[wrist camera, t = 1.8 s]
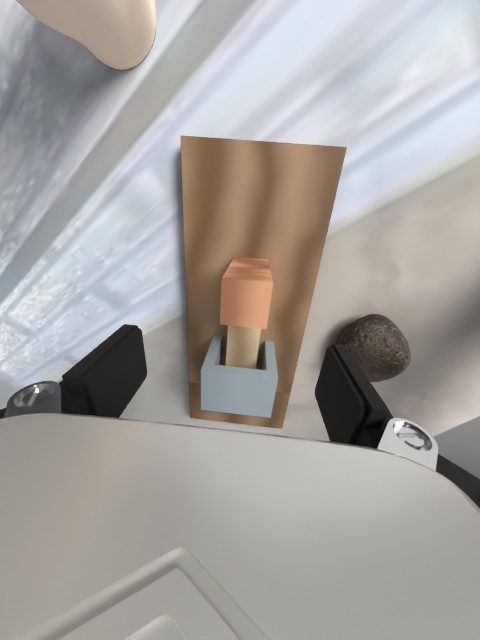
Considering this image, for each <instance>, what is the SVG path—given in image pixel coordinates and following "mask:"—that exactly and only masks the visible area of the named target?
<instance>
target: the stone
mask: <svg viewBox="0 0 480 640" xmlns="http://www.w3.org/2000/svg"><path fill="white" fill-rule="evenodd" d="M336 345H340V346H345V347H346V348H347V349H348V351H349V352H350V353H351V355H352V356H353V358H354V359H355V361H356V362H357V364H358V365H359V367H360V368H361V370H362V371H363V373H364V374H365V375H366V377H367V378H368V380H369V381H370V382H379V381H384V380H387V379H390V378H392V377H394V376H396V375H398V374H400V373H402V372H403V371H404V370H405V368H406V367H407V366H408V365H409V362H410V350H409V346H408V344H407V341H406V339H405V337H404V336H403V334H402V333H401V331H400V330H399V329H398V328H397V326H396V325H395V324H394V323H393V322H392V321H391V320H389V319H388V318H387V317H385V316H382V315H378V314H371V315H367V316H365V317H363V318H361V319H358V320H357V321H356V322H354V323H352V324H350V325H349V326H348V327H347V328H346V329H345V330H344V331H343V332H342V334H341V335H340V337H339V339H338V341H337V344H336Z"/></svg>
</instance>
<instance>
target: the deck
mask: <svg viewBox="0 0 480 640" xmlns="http://www.w3.org/2000/svg"><path fill="white" fill-rule="evenodd" d="M346 148H347V147H335V146H321V145H306V144H292V143H278V142H264V141H250V140H235V139H221V138H207V137H193V136H181V163H182V193H183V223H184V252H185V282H186V312H187V341H188V371H189V401H190V418H197V419H205V420H214V421H222V422H230V423H239V424H247V425H256V426H264V427H272V428H281V429H282V427H283V422H284V418H285V414H286V409H287V405H288V400H289V396H290V392H291V387H292V383H293V379H294V374H295V370H296V366H297V361H298V357H299V353H300V348H301V344H302V340H303V335H304V331H305V326H306V322H307V318H308V313H309V309H310V305H311V300H312V296H313V292H314V287H315V283H316V279H317V274H318V270H319V265H320V261H321V257H322V252H323V248H324V244H325V239H326V235H327V231H328V226H329V222H330V218H331V213H332V209H333V204H334V200H335V196H336V191H337V187H338V183H339V178H340V174H341V170H342V165H343V161H344V157H345V152H346ZM234 256H235V257H246V258H257V259H268V260H269V265H270V270H271V275H272V280H273V289H272V296H271V302H270V309H269V316H268V323H267V329H261V332H260V340H259V348H258V355H257V363H256V369H259V370H261V366H262V359H263V352H264V346H265V341H273V342H274V347H275V356H276V364H277V373H278V382H277V387H276V393H275V398H274V403H273V408H272V414H271V418H266V417H258V416H249V415H241V414H232V413H223V412H215V411H206V410H201V369H202V366H203V363H204V361H205V358H206V355H207V352H208V350H209V347H210V344H211V342H212V339H213V336H214V335H216V336H222V356H221V365H222V366H226V352H227V334H228V325H221V324H220V307H221V281H222V277H223V275H224V274H225V272H226V270H227V268H228V267H229V265H230V263H231V262H232V260H233V258H234Z"/></svg>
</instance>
